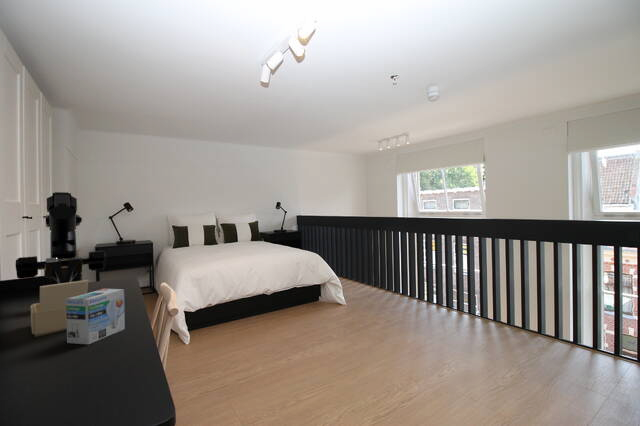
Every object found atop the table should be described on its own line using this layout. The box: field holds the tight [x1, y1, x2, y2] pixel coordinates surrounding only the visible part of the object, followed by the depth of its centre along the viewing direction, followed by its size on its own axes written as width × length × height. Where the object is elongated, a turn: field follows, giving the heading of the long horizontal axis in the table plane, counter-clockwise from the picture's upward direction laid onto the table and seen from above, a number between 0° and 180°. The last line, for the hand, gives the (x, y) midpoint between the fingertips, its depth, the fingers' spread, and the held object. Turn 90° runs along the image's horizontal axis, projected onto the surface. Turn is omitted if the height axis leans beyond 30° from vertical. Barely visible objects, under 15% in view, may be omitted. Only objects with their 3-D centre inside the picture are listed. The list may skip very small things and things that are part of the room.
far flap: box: [39, 279, 90, 312], centre depth 80 cm, size 8×10×1 cm
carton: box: [30, 302, 67, 338], centre depth 86 cm, size 13×12×6 cm
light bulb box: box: [66, 288, 126, 345], centre depth 77 cm, size 11×7×11 cm, turn 168°
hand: (65, 288), depth 79 cm, fingers closed, pressing on far flap
